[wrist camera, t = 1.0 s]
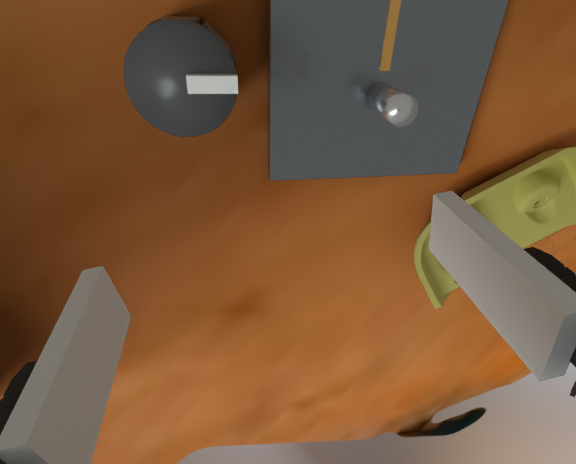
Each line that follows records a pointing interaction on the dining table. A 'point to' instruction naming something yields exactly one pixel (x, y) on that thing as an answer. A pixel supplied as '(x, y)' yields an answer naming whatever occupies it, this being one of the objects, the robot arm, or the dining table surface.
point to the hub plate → (375, 84)
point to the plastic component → (511, 211)
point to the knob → (181, 76)
